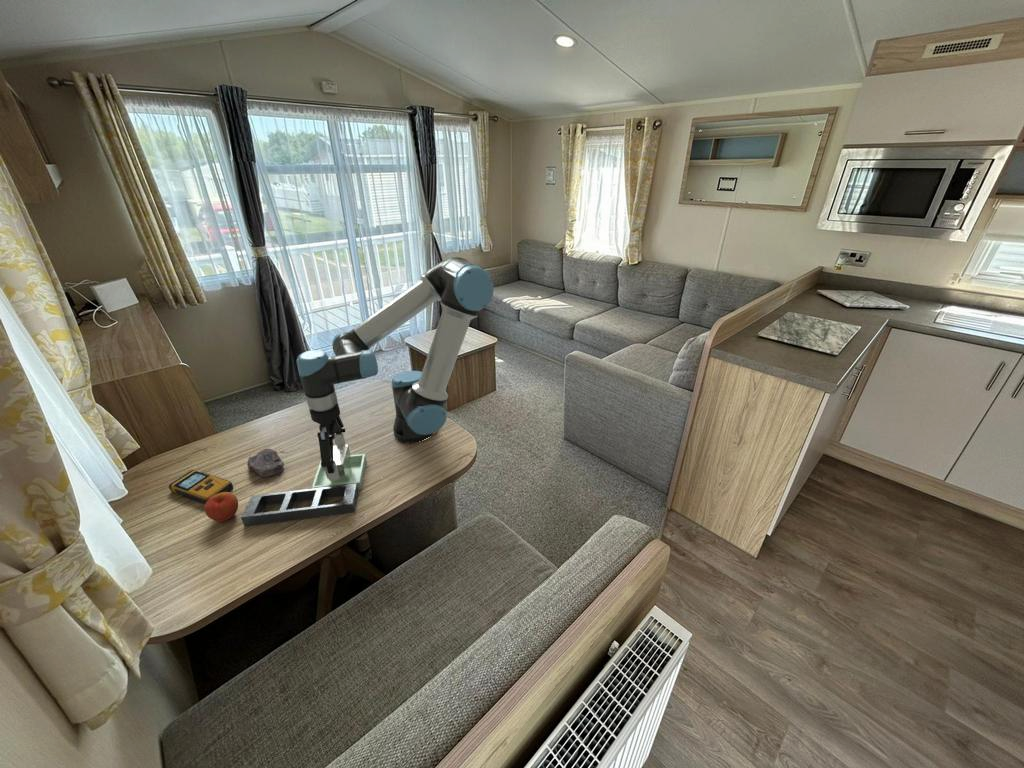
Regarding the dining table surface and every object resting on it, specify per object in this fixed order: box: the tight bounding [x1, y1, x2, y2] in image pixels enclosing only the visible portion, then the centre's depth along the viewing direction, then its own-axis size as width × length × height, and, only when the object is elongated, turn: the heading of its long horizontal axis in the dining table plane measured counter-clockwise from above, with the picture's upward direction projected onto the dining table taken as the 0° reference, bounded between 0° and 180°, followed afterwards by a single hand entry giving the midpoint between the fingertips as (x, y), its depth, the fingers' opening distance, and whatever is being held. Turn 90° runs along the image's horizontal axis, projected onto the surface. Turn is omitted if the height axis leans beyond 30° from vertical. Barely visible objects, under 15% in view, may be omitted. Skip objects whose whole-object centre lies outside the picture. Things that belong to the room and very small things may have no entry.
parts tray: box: [311, 453, 367, 491], centre depth 123 cm, size 13×13×3 cm
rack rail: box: [240, 483, 360, 528], centre depth 111 cm, size 28×8×4 cm, turn 101°
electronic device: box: [168, 469, 234, 505], centre depth 117 cm, size 8×16×3 cm, turn 71°
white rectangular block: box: [324, 444, 352, 483], centre depth 121 cm, size 5×9×8 cm, turn 11°
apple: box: [203, 491, 239, 522], centre depth 107 cm, size 7×7×8 cm
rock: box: [246, 448, 285, 478], centre depth 125 cm, size 8×11×5 cm
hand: (338, 464), depth 121 cm, fingers open, 12 cm apart
